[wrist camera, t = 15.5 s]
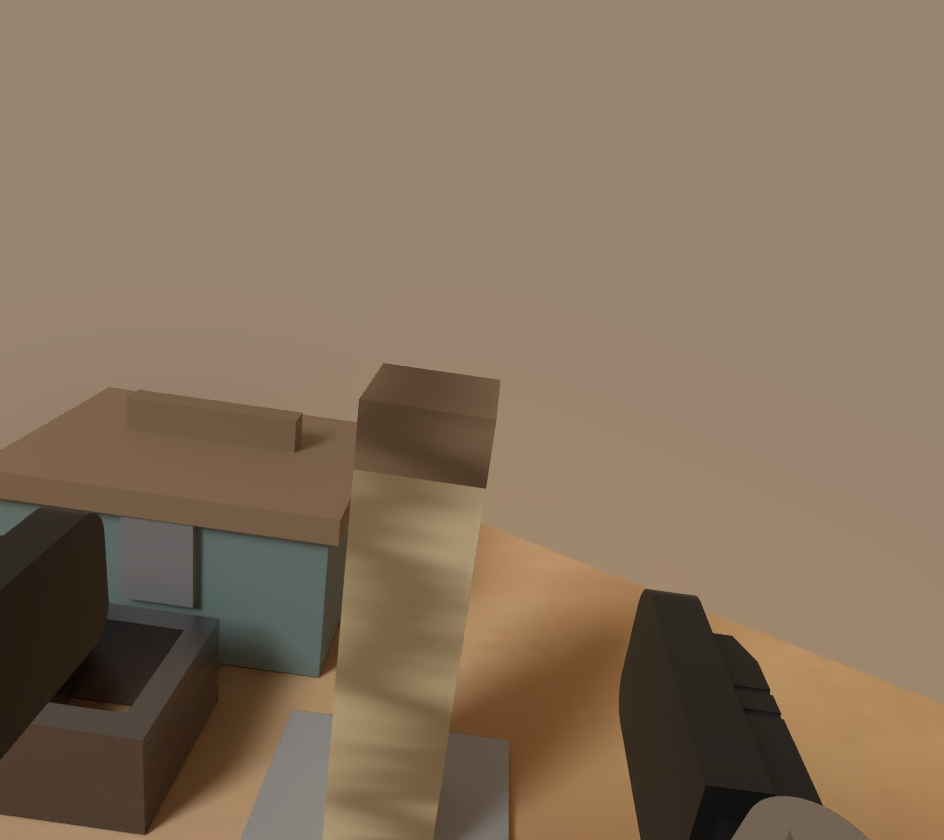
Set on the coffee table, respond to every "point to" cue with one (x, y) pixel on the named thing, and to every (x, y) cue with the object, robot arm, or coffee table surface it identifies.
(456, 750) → the rubber mat
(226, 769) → the coffee table surface
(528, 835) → the coffee table surface
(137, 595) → the toolbox
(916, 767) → the coffee table surface
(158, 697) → the gray open box
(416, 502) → the mottled beige block
